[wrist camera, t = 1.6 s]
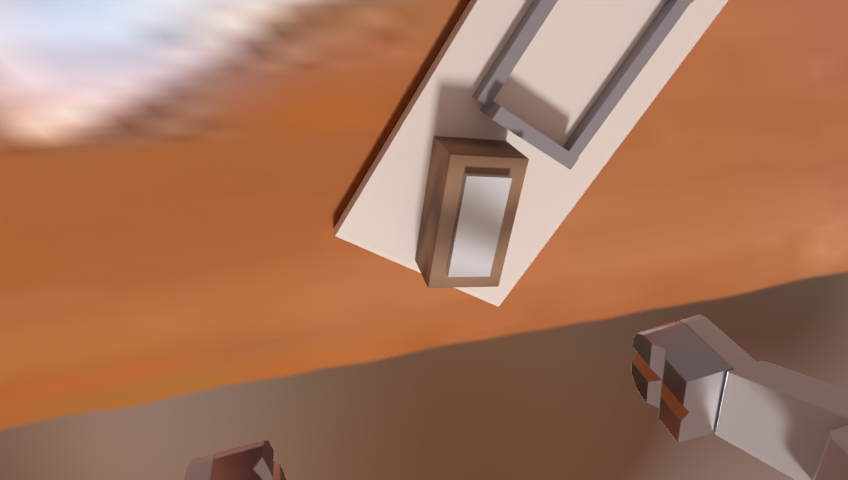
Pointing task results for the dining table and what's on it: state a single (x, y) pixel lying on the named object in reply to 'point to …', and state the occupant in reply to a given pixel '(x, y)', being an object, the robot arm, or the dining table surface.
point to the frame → (468, 211)
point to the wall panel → (526, 111)
